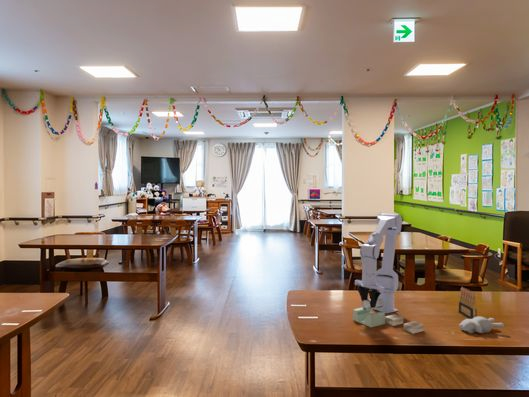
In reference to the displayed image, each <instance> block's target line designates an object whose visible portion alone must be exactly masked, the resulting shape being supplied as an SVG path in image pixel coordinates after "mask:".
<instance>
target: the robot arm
mask: <svg viewBox="0 0 529 397" xmlns="http://www.w3.org/2000/svg"><path fill="white" fill-rule="evenodd" d="M376 223H377V226H376V229H375V231H373V232H371V233H370V235H369V237H368V239H367V240H366V242H365V243H363V244H362V245H361V246H360V249H359V256H360V261H361V263H362V264H361V266H362V267H361V271H362V274H361V280H360V279H355V280H354V285H355V286H359V287H357V288H356V289H357V292H358V294H359V297H360V299H361V302H362V301H363V300H369V299H370V306H371V308H374V307H375V306H376V303H377V300H378V298H381V299H382V300H383V301H384V306H383V307H382V308H376V309H374V310H376V311H377V312H384V313H385V314H390V313H394V312H398V311H399V309H397V308H395V307H394V306H395V292H396V291H397V290H398V288H399V275H398V273H397V272H396V271H395V270H394V261H395V253H396V244H397V243H396V242H397V238H398V234H401V230H402V225H403V224H402V223H403V219H402V215H401V213H387V212H385V213H384V212H379V213H378V214H377V217H376ZM384 235H385V237H384ZM383 242H384V246H383V254H382V261H381V268H379V269H378V268H377V265H378V264H377V262H378V261H377V259H378V258H379V256H380V251H381V246H382V244H383ZM377 269H378V270H377Z"/></svg>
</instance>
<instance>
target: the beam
mask: <svg viewBox="0 0 529 397" xmlns="http://www.w3.org/2000/svg"><path fill="white" fill-rule="evenodd" d="M385 324H387V325H389V326H392V327H394V326H399V325H402V324H403V331H405V332H408V333H410V334H413V335H414V334H417V333H420V332H423V331H424V324H423V323H420V322H417V321H414V320H411V321H409V322H406V323H404V317H403V316H401V315H397V314H390V315H385Z"/></svg>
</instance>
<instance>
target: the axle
mask: <svg viewBox="0 0 529 397" xmlns="http://www.w3.org/2000/svg"><path fill="white" fill-rule="evenodd" d="M360 305H361V308H363V309H364V310H375V309H376V308H382V307H383V306H384V301H383V300H382V299H381V298H378V300H377V303H376V306H375V307H374V308H371V306H370V298H368V300H363V301H362V300H361V304H360Z"/></svg>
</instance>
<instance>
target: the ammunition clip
mask: <svg viewBox="0 0 529 397" xmlns="http://www.w3.org/2000/svg"><path fill="white" fill-rule="evenodd" d="M459 294H460V295H459V301H458V314H460V315H462V316H463V317H465V318H466V319H473V318H474V317H478V316H477V314H478V313H477V310H478V309H477V307H476V306H477V304H476V303H477V300H476V294H475V291H472V290H471V291H470V289H468V288H466V287H463V286H461V288H460V293H459Z"/></svg>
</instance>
